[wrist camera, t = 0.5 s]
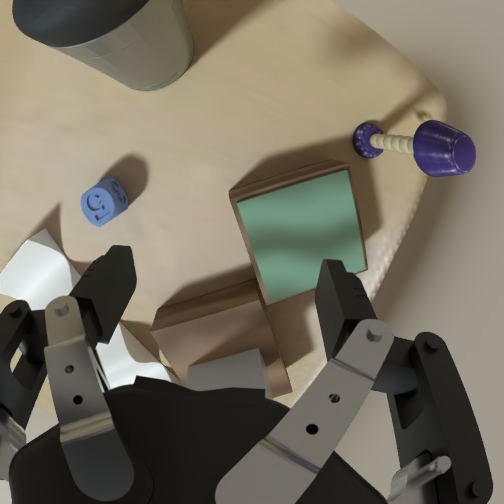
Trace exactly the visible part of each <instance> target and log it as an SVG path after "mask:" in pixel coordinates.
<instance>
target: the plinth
mask: <svg viewBox="0 0 504 504" xmlns="http://www.w3.org/2000/svg"><path fill="white" fill-rule="evenodd" d="M229 198H230V202H231V205H232V208H233V211H234V213H235V216H236V219H237V222H238V225H239V228H240V231H241V234H242V237H243V240H244V242H245V245H246V248H247V251H248V254H249V257H250V260H251V263H252V266H253V268H254V271H255V274H256V277H257V280H258V283H259V286H260V289H261V292H262V294H263V297H264V300H265V303H266V306H267V305H270V304H273V303H276V302H279V301H282V300H285V299H288V298H291V297H294V296H297V295H300V294H303V293H306V292H309V291H311V290H314V289H316V286H317V282H318V277H319V273H320V268H321V264H322V261H323V259H336V260H342V262H343V264H344V266H345V269H346V271H347V272H353V273H354V274H355V275H356V274H358V273H361V272H364V271H366V270H368V264H367V257H366V250H365V244H364V238H363V232H362V226H361V221H360V216H359V210H358V205H357V200H356V195H355V191H354V186H353V182H352V177H351V173H350V168H349V164H348V163H345V162H339V161H334V160H328V161H325V162H321V163H317V164H314V165H310V166H307V167H303V168H300V169H297V170H293V171H290V172H286V173H283V174H280V175H277V176H273V177H270V178H267V179H264V180H261V181H257V182H254V183H251V184H248V185H245V186H242V187H239V188H236V189H233V190H230V191H229Z"/></svg>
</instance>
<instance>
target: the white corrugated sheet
mask: <svg viewBox="0 0 504 504" xmlns="http://www.w3.org/2000/svg"><path fill="white" fill-rule="evenodd" d="M80 278H81V276H80V275H79V273H78V272H77V271H76V270H75V268H74V267H73V266H72V264H71V263H70V262H69V260H68V259H67V258H66V256H65V255H64V254H63V252H62V251H61V250H60V248H59V247H58V246H57V244H56V243H55V241H54V240H53V239H52V237H51V236H50V234H49V233H48V231H47V230H46V228H45V229H43V230H42V231H40V232H38V233H37V234H35V235H33V236H32V237H30V238H28V239H27V240H26V241H25V242H24V244H23V245H22V246H21V247H20V249H19V250H18V251H17V252H16V254H15V255H14V256H13V258H12V259H11V260H10V261H9V263H8V264H7V265H6V267H5V268H4V270H3V271H2V272H1V274H0V294H4V295H8V296H11V297H13V298H16V299H17V300H25V301H27V302H28V304H29V306H30V308H31V310H42V309H45V308H46V306H47V305H48V304H49V302H51V301H52V300H53V299H55V298H57V297H60V296H68V295H69V293H70V292H71V291H72V289H73V288H74V286H75V285H76V284H77V282H78V281H79V280H80ZM96 349H97V352H98V354H99V357H100V360H101V363H102V366H103V369H104V371H105V374H106V377H107V379H108V382H109V384H110V387H111V389H113V388H115V387H118V386H122V385H128V384H134V381H135V378H136V375H138V376H144V377H150V378H156V379H163V380H167V381H170V382H172V383H175V384H178V385H181V386H183V387H185V386H184V385H183V383H182V382H181V381H180V380H179V379H178V378H177V377H176V376H174V375H173V374H172V373H171V372H170V371H169V370H168V369H167V368H166V367H165V366H164V365H162V364H161V363H160V362H159V361H158V360H157V359H156V358H155V357H154V356H153V355H152V354H151V353H150V352H149V351H148V350H147V349H146V348H145V347H144V346H143V345H142V344H141V343H140V342H139V341H138V340H137V339H136V338H135V337H134V336H133V335H132V334H131V333H130V332H129V331H128V330H127V329H126V328H125V327H124V326H123V324H122V323H121V322H120V321H119V323H118V325H117V327H116V329H115V331H114V334H113V336H112V338H111V340H110V342H109V344H103V343H98V344H97V346H96Z"/></svg>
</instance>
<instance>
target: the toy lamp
mask: <svg viewBox="0 0 504 504" xmlns="http://www.w3.org/2000/svg"><path fill="white" fill-rule="evenodd" d="M353 145H354V148H355V150H356V151H357V153H358V154H359V155H361V156H363V157H365V158H374V157H377V156H379V155H380V154H381V153H382V152H383V150H389V151H396V152H399V153H406V154H413V155H414V159H415V161H416V163H417V165H418V166H419V168H420V169H421V170H422V171H423V172H424V173H426V174H427V175H429V176H432V177H444V176H453V175H461V174H465V173H467V172H469V171H470V170H471V169H472V168H473V165H474V163H475V159H476V150H475V146H474V143H473V141H472V140H471V138H469V136H468V135H466V134H465V133H463V132H461V131H459V130H457V129H455V128H453V127H451V126H449V125H447V124H445V123H442V122H440V121H436V120H429V121H426V122H424V123H422V124H421V125H420V126H419V127H418V128H417V130H416V132H415V134H414V137H410V136H405V137H404V136H401V135H397V136H396V135H387V134H384V133H383V132H382V130H381V129H380V128H379V127H377V126H376V125H374V124H370V123H365V124H362V125H360V126H358V127H357V128H356V130H355V132H354V134H353Z"/></svg>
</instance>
